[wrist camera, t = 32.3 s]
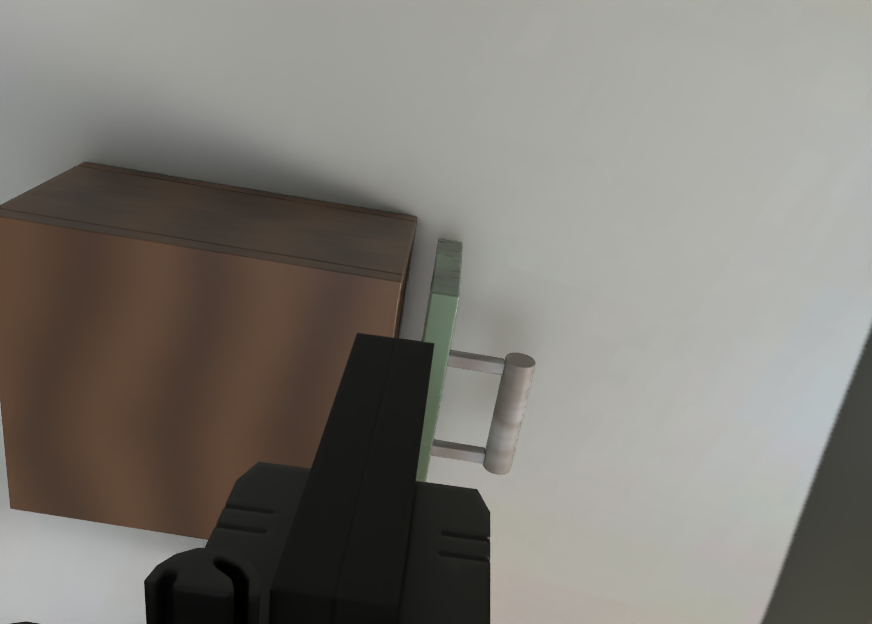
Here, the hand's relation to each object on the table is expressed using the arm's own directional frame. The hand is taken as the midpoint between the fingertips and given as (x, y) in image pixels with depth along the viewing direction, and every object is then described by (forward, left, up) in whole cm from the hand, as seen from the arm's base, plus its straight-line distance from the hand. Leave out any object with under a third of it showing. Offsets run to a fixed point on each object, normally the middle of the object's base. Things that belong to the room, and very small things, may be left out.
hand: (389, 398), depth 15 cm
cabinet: (+14, -3, -24) cm, 28 cm away
